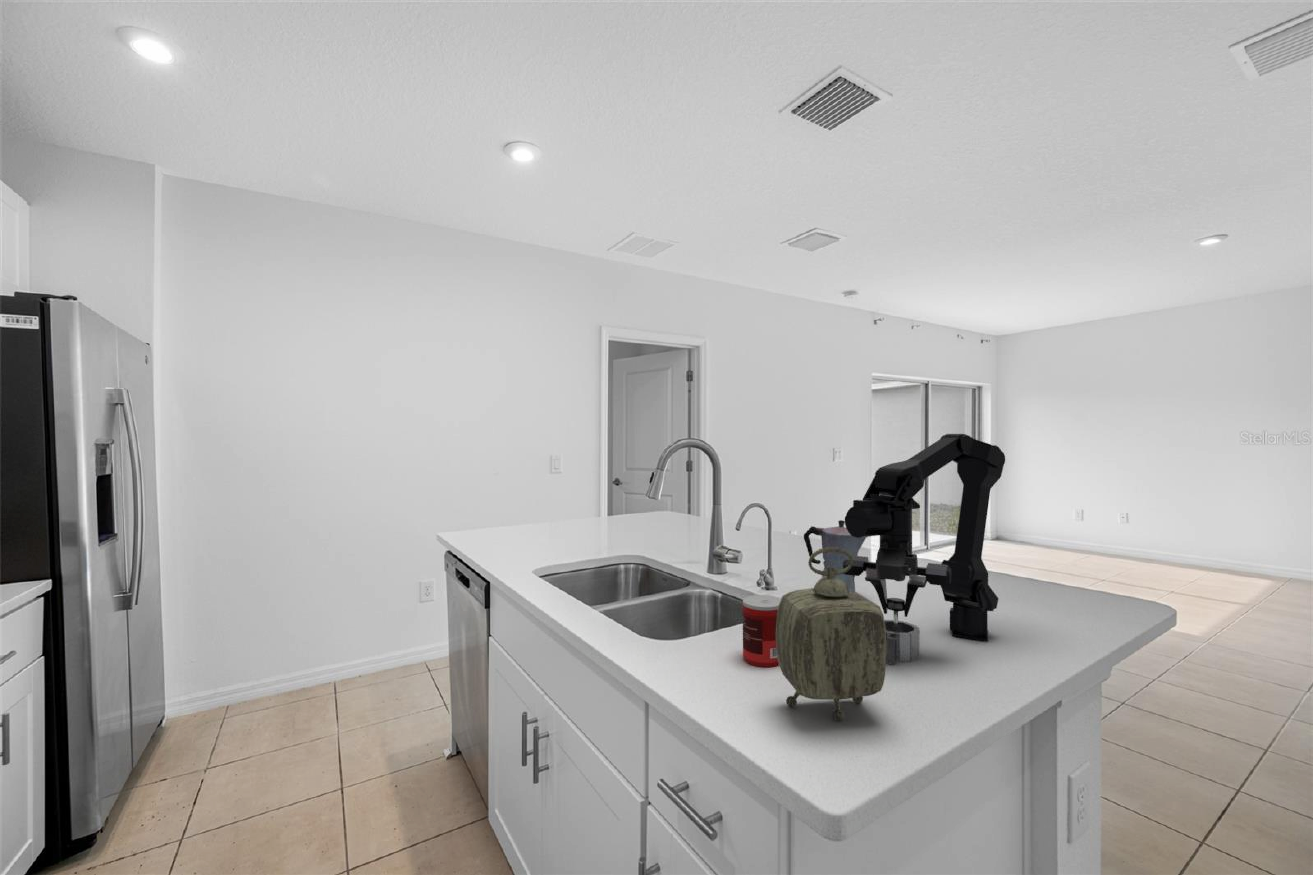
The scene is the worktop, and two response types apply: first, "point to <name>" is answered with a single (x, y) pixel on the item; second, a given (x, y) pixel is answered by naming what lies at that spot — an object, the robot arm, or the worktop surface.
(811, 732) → the worktop surface
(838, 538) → the moka pot
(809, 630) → the tabletop clock
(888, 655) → the press carafe
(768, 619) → the canned food
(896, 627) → the plunger
